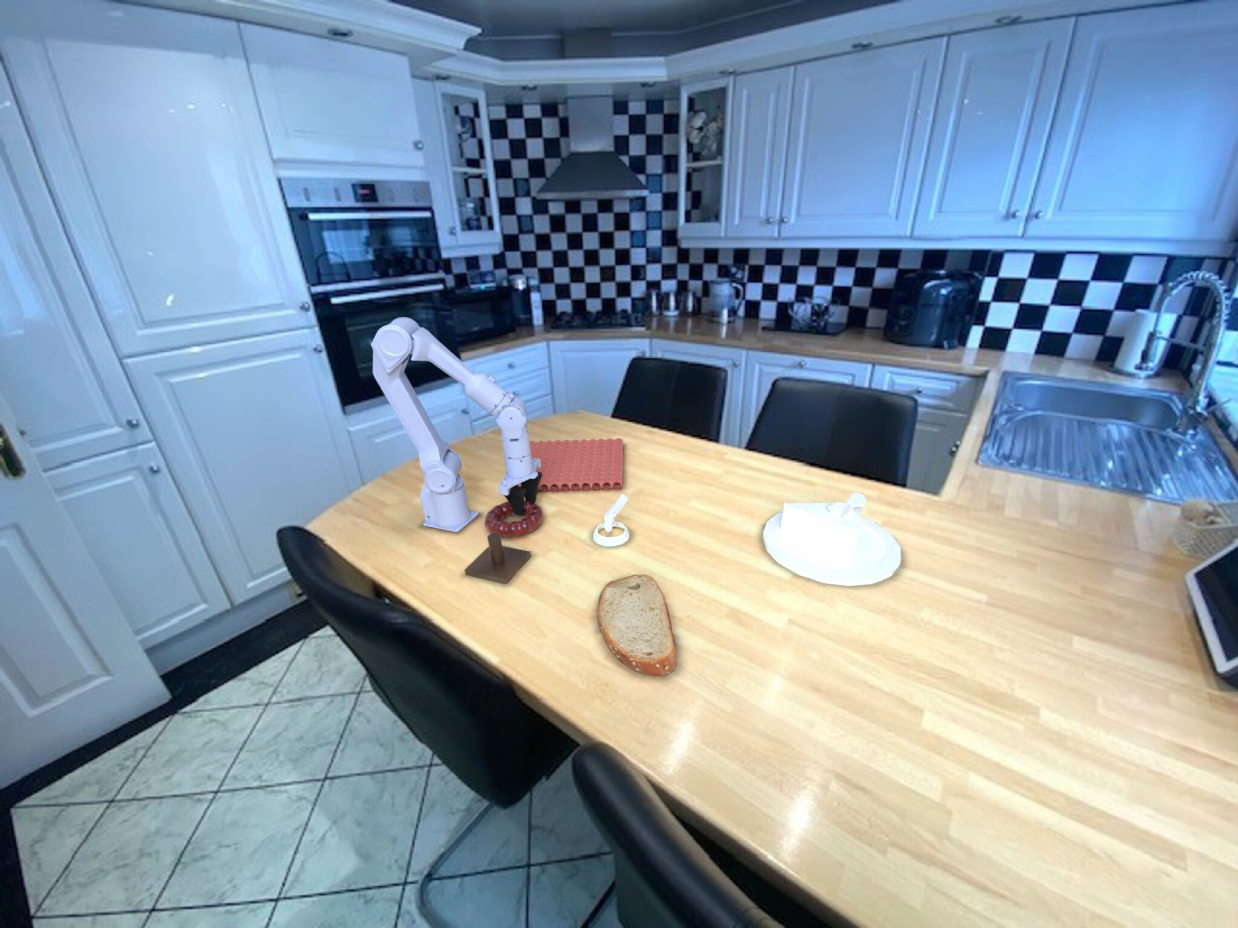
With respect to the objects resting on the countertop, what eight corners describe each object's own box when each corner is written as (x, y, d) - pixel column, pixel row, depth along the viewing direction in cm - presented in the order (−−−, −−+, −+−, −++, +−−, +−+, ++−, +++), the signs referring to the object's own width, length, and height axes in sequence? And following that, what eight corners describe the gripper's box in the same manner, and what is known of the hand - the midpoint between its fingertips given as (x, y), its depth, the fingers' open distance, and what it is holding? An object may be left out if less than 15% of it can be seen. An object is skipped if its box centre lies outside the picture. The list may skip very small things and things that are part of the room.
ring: (474, 534, 108) (472, 521, 107) (506, 506, 118) (504, 494, 117) (525, 544, 104) (523, 531, 102) (553, 514, 114) (552, 502, 113)
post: (465, 574, 95) (459, 545, 93) (492, 548, 103) (487, 520, 100) (506, 584, 92) (501, 554, 89) (531, 556, 100) (527, 527, 97)
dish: (897, 524, 105) (908, 476, 100) (901, 600, 84) (915, 543, 79) (774, 503, 114) (779, 458, 109) (752, 566, 94) (756, 514, 89)
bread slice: (665, 684, 71) (665, 665, 69) (563, 637, 80) (561, 619, 78) (714, 608, 84) (715, 590, 83) (622, 575, 93) (621, 558, 92)
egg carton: (622, 489, 123) (622, 482, 123) (508, 492, 124) (507, 485, 123) (623, 444, 149) (622, 438, 148) (528, 447, 150) (527, 441, 149)
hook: (653, 523, 99) (624, 511, 96) (619, 560, 105) (590, 550, 102) (647, 498, 105) (620, 486, 102) (615, 534, 111) (588, 523, 108)
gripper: (515, 470, 101) (524, 527, 107) (550, 442, 113) (555, 495, 119) (486, 465, 103) (495, 522, 109) (522, 439, 116) (529, 491, 121)
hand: (525, 508), depth 114 cm, fingers open, 5 cm apart
